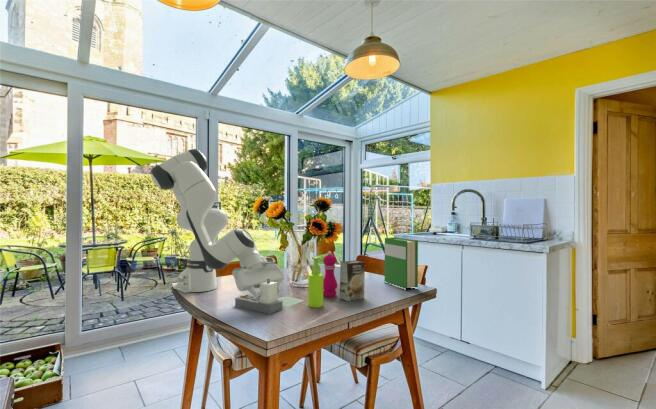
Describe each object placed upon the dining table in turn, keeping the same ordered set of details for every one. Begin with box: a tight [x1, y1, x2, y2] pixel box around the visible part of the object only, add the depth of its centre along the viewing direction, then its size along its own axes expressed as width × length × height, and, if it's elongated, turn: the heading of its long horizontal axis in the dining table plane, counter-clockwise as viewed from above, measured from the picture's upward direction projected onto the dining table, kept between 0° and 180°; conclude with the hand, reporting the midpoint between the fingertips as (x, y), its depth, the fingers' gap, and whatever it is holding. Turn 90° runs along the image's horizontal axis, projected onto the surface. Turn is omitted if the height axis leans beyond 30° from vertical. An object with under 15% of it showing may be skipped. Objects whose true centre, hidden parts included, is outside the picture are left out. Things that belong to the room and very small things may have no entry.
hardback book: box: [384, 236, 419, 289], centre depth 164 cm, size 18×7×24 cm, turn 24°
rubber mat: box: [277, 296, 306, 308], centre depth 132 cm, size 11×11×1 cm
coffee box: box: [339, 260, 366, 302], centre depth 141 cm, size 9×6×16 cm
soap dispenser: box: [307, 255, 325, 308], centre depth 128 cm, size 6×7×20 cm
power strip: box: [234, 293, 284, 315], centre depth 124 cm, size 18×7×5 cm, turn 58°
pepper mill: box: [322, 250, 338, 298], centre depth 146 cm, size 7×7×20 cm
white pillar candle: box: [259, 279, 278, 304], centre depth 122 cm, size 4×4×12 cm
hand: (268, 295), depth 121 cm, fingers open, 8 cm apart
